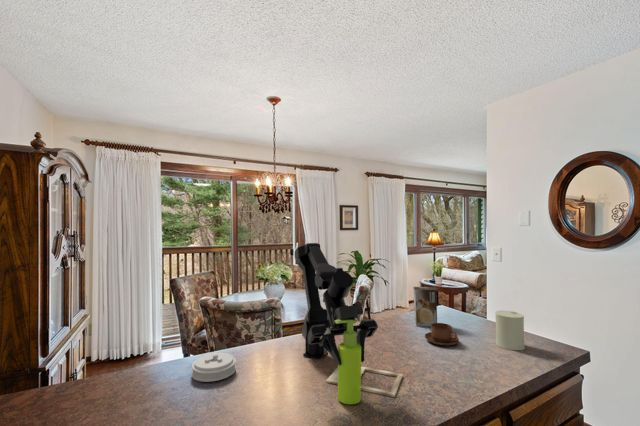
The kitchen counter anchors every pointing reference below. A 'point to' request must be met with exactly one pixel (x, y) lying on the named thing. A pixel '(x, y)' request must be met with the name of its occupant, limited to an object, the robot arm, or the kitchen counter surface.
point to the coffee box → (425, 306)
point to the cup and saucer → (441, 334)
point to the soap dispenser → (349, 365)
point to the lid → (213, 367)
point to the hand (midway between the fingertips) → (351, 363)
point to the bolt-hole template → (334, 379)
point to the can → (510, 330)
